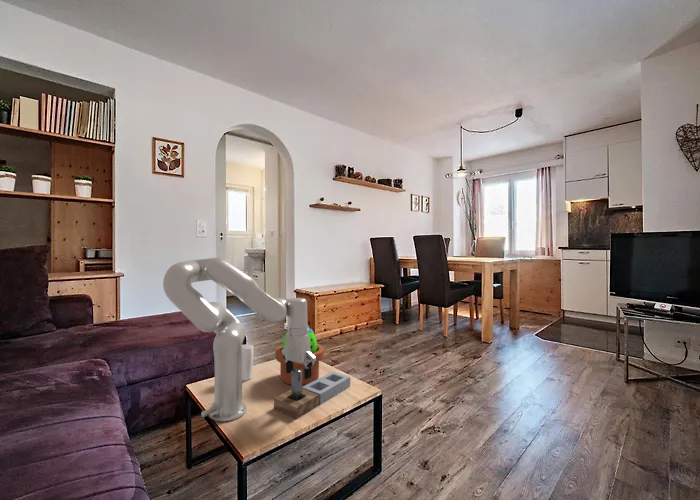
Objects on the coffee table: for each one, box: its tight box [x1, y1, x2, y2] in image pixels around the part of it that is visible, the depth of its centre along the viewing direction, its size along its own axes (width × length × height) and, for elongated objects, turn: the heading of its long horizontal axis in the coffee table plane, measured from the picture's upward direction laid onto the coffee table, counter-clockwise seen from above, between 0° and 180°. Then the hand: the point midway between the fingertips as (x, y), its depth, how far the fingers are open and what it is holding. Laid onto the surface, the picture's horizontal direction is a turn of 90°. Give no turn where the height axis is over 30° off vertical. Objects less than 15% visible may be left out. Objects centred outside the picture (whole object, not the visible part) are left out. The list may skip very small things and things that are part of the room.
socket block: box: [273, 389, 320, 420], centre depth 122 cm, size 12×12×4 cm
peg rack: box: [302, 371, 351, 405], centre depth 136 cm, size 20×10×4 cm, turn 144°
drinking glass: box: [242, 343, 254, 382], centre depth 147 cm, size 7×7×15 cm
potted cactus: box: [274, 325, 325, 386], centre depth 149 cm, size 22×22×25 cm
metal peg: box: [290, 369, 303, 402], centre depth 122 cm, size 4×4×14 cm
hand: (298, 375), depth 122 cm, fingers open, 9 cm apart
